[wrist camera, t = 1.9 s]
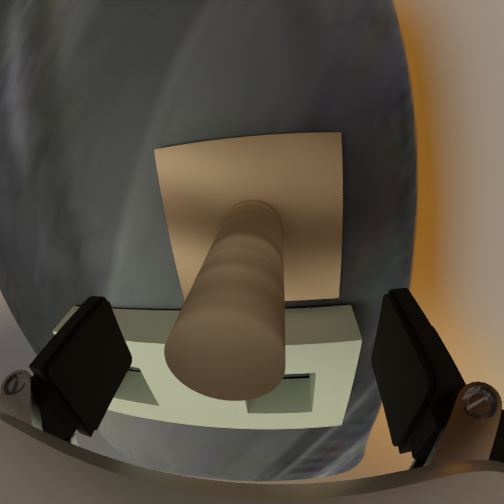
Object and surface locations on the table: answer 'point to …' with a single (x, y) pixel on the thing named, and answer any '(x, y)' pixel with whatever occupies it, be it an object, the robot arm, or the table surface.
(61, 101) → the table surface
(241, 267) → the peg
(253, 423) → the hole block
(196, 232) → the cork mat
